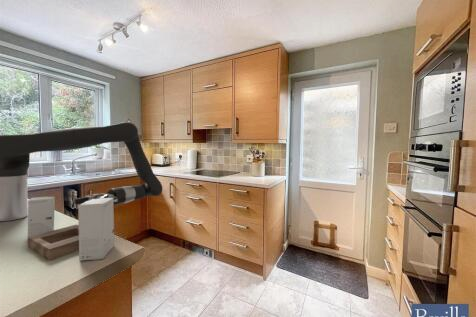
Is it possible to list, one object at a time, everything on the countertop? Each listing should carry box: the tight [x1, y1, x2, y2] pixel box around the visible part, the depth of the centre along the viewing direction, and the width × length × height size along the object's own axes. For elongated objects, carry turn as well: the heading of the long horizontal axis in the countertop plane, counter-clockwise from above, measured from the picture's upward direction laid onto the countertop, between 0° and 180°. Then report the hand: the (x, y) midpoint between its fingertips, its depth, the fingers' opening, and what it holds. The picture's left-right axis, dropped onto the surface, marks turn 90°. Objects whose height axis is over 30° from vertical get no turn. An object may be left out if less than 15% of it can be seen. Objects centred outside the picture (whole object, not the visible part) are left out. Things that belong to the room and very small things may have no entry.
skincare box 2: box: [77, 198, 115, 262], centre depth 57 cm, size 8×6×15 cm
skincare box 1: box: [27, 195, 56, 238], centre depth 69 cm, size 6×4×12 cm
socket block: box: [27, 224, 79, 261], centre depth 62 cm, size 14×12×3 cm
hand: (80, 203), depth 79 cm, fingers open, 8 cm apart
